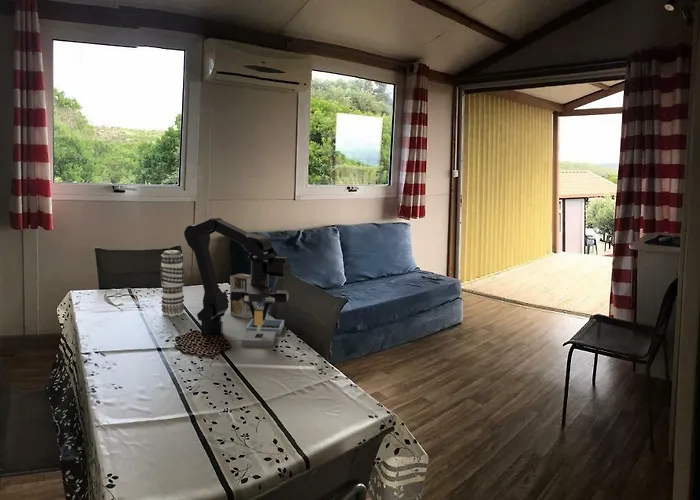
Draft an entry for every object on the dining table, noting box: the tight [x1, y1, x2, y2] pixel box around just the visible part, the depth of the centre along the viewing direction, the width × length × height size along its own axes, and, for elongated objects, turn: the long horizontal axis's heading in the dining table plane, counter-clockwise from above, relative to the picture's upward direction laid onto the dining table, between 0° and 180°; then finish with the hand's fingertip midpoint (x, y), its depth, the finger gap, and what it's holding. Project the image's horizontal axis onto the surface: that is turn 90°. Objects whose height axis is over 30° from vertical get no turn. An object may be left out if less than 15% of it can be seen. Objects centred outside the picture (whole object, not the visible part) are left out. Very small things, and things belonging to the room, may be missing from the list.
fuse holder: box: [240, 331, 277, 348], centre depth 182 cm, size 10×10×3 cm
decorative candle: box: [159, 249, 185, 317], centre depth 212 cm, size 9×9×25 cm
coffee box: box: [229, 273, 258, 319], centre depth 214 cm, size 9×6×16 cm
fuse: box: [253, 306, 264, 331], centre depth 181 cm, size 3×4×7 cm, turn 0°
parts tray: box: [245, 318, 285, 336], centre depth 195 cm, size 12×11×3 cm
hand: (259, 320), depth 181 cm, fingers closed on fuse, 3 cm apart
